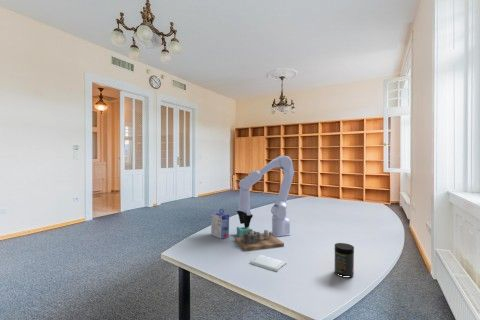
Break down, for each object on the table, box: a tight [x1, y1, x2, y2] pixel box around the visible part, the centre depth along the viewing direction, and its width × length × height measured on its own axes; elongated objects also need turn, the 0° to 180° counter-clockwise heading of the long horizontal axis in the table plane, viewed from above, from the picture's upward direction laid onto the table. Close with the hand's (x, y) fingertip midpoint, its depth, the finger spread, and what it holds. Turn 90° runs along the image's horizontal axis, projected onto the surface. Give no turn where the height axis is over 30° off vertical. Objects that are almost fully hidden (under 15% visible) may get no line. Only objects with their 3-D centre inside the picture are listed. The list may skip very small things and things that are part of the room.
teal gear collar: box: [236, 226, 254, 237], centre depth 134 cm, size 7×7×4 cm
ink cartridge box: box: [210, 208, 230, 240], centre depth 133 cm, size 10×6×14 cm, turn 41°
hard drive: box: [249, 254, 288, 273], centre depth 99 cm, size 2×8×12 cm
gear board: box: [235, 229, 285, 252], centre depth 122 cm, size 20×15×6 cm
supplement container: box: [333, 242, 355, 277], centre depth 91 cm, size 7×7×10 cm
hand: (244, 225), depth 134 cm, fingers open, 7 cm apart
